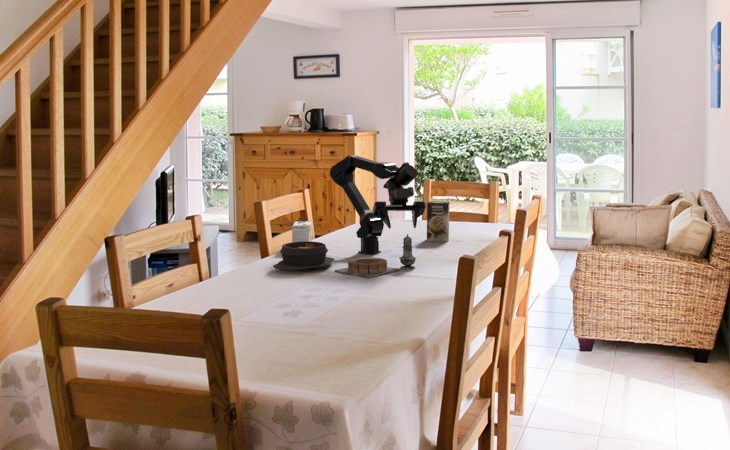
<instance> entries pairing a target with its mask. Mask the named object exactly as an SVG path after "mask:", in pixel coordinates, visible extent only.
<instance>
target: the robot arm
mask: <svg viewBox="0 0 730 450" xmlns="http://www.w3.org/2000/svg"><path fill="white" fill-rule="evenodd" d="M356 169H360V170H363V171H366V172H369V173H372V174H373V175H374V177H376V178H377V179H380V180H385V179H388V180H386V182H385V183H384V184H383V189H386V190H387V193H388V201H389V204H387V202H386V200H384V201H381V200H380V201H377V200H376V201H374V203H373V207H372V210H371V208H370V206H369V205H368V203H367V202H366V199H365V198H364V197H363V195H362V193H361V192H360V190H359V188H358V187H357V185H356V183H355V181H354V172H355V171H356ZM329 175H330V178H331V180H332V181H333V182H334V183H335V184H336V185H338V186H339V187H341V188H342V189H343V191H344V193H345V195H346V196H347V197H348V200H349V202H351V205H352V207H353V208H354V210H355V211H356V212H357V215H358V217H359V226H360V227H359V228H358V229H357V230H356V237H357V238H358V239H359V238H360V250H359V251H357V253H358V254H364V255H373V254H374V255H375V254H379V253H381V252H382V251H381V250H379V247H380V246H379V244H380V243H379V242H380V241H379V237H382V234H383V230H384V227H385V225H386V227H387V228H388V229H389V230H391V228H392V225H391V219H390V216H389V212H390V211H392V212H394V211H395V212H411V220H412V226H413V229H416V228H417V222H418V218H420V217H421V216H423V215H424V213H425V210H426V209H427V203H426V202H425V201H424V200H414V201H413V204H409V205H408V204H407V203H408V202H409V198H410V197H412V198H413V196H414V194H415V190H414V187H413V186H409V184H410V183H412V182H413V181H414V180H415V179H416V177H418V175H419V173H418V170H417V169H416V168H415V167H414V166H412V164H409V162H408V161H407V162H404V163H401V166H400V167H398V166H397V164H396V163H394V162H385V161H381V162H380V161H375V160H373V159H369V158H365V157H362V156H359V155H357V154H352V155H351V154H350V155H347V156H346V157H344V158H343V159H342V160H340V161H339V162H337V163H335V164H334V165H332V166H331V168H330V169H329ZM404 186H405V187H404ZM407 186H408V187H407Z"/></svg>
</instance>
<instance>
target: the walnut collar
mask: <svg viewBox="0 0 730 450" xmlns="http://www.w3.org/2000/svg"><path fill="white" fill-rule="evenodd" d="M401 270H402V269H400V268H397V267H391V266H388V260H386V259H385V258H383V257H382V258H380V257H371V256H370V257H368V256H367V257H364V256H363V257H356V258H355V257H354V258H351V259H349V260H348V261H347V267H344V268H338V269H334V273H339V274H344V275H349V276H355V277H360V278H365V279H371V278H376V277H380V276H385V275H389V274H393V273H397V272H400V271H401Z"/></svg>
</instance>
